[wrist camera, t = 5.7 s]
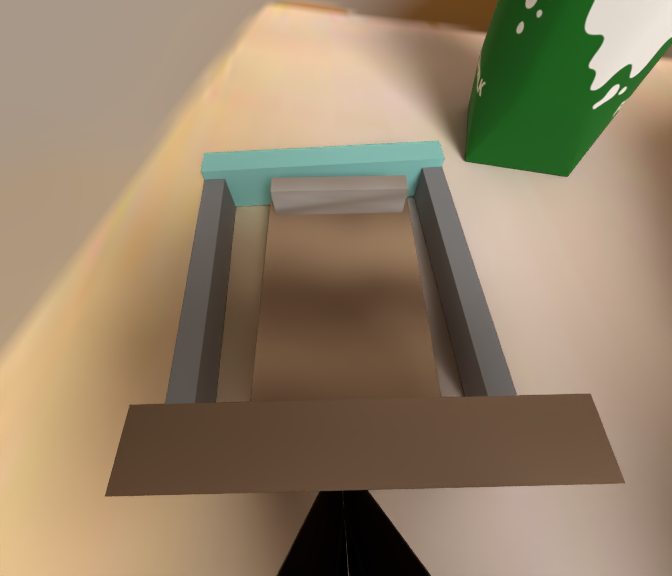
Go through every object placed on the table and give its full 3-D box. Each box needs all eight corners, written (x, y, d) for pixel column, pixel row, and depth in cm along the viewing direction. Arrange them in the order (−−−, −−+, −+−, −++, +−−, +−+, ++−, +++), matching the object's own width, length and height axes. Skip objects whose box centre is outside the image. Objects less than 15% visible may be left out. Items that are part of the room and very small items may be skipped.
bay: (492, 403, 15) (524, 391, 13) (187, 427, 15) (154, 419, 12) (426, 178, 22) (438, 140, 20) (220, 189, 22) (204, 153, 19)
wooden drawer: (437, 471, 14) (658, 491, 4) (255, 475, 14) (72, 505, 4) (400, 222, 21) (454, 13, 11) (277, 225, 21) (223, 17, 11)
